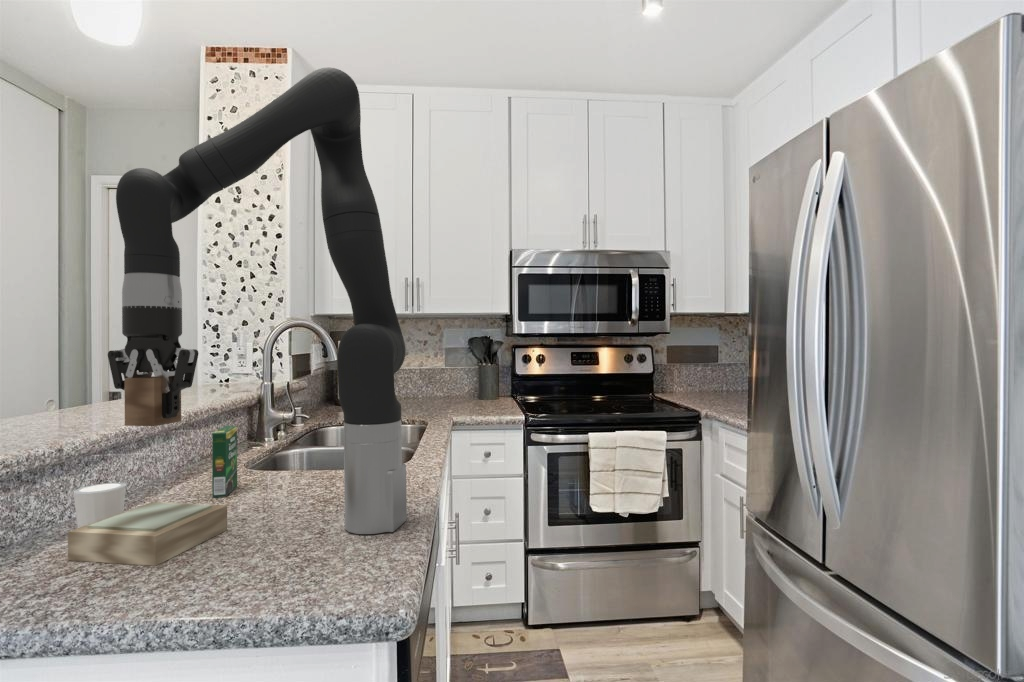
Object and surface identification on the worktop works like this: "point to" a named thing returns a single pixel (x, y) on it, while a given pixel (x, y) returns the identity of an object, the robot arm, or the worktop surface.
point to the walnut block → (146, 402)
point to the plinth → (147, 533)
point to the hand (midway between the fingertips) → (153, 416)
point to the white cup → (98, 502)
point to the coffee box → (224, 461)
